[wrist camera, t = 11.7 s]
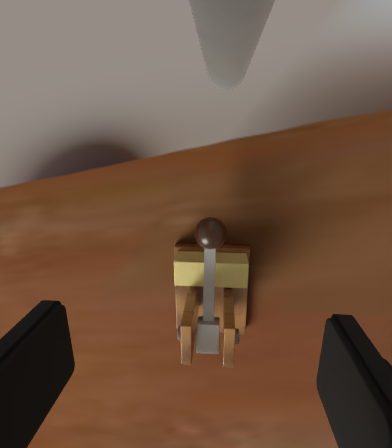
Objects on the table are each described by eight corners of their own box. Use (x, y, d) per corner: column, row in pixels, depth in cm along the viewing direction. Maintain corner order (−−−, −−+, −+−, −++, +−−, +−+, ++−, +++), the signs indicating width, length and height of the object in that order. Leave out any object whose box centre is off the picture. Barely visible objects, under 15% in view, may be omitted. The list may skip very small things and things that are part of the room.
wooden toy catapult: (175, 243, 35) (156, 288, 25) (249, 245, 35) (260, 292, 24) (177, 324, 39) (162, 393, 29) (244, 328, 38) (252, 400, 28)
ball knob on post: (196, 217, 30) (193, 216, 27) (226, 218, 30) (227, 217, 27) (193, 341, 30) (190, 354, 27) (223, 342, 30) (224, 356, 27)
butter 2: (215, 252, 34) (215, 263, 31) (246, 253, 34) (248, 264, 31) (215, 274, 35) (214, 287, 32) (245, 275, 35) (247, 288, 32)
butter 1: (177, 250, 34) (173, 261, 32) (207, 251, 34) (206, 262, 31) (178, 273, 35) (174, 285, 33) (207, 274, 35) (206, 286, 32)
